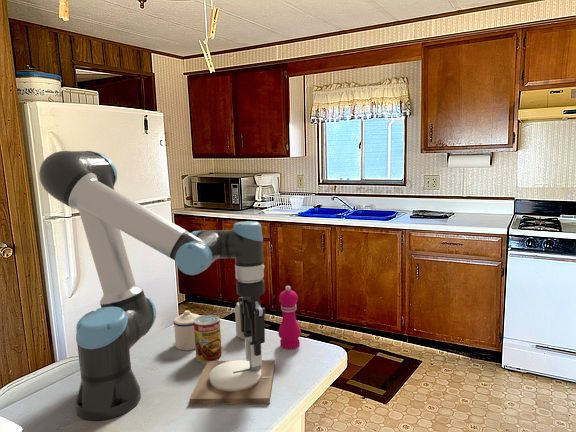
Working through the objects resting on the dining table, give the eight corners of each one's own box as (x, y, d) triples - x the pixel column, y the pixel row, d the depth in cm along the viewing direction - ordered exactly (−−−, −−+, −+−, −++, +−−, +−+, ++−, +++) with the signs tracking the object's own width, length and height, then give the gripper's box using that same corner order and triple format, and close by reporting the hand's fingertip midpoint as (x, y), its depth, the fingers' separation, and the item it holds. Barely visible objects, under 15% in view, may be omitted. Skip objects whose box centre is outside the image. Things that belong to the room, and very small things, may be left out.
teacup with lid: (204, 348, 138) (202, 314, 137) (175, 352, 136) (172, 317, 134) (201, 334, 150) (199, 302, 148) (174, 337, 147) (172, 305, 146)
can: (249, 342, 142) (247, 307, 140) (231, 337, 146) (230, 304, 144) (262, 334, 148) (261, 300, 146) (245, 330, 152) (243, 297, 150)
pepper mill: (299, 351, 134) (297, 289, 131) (276, 349, 135) (274, 289, 133) (302, 341, 141) (301, 282, 138) (281, 340, 142) (279, 282, 140)
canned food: (204, 365, 127) (201, 326, 125) (191, 356, 133) (188, 319, 131) (226, 356, 132) (224, 319, 130) (213, 348, 138) (211, 313, 136)
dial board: (190, 404, 107) (189, 398, 106) (207, 365, 126) (207, 360, 126) (269, 403, 106) (269, 397, 106) (275, 364, 126) (274, 359, 125)
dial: (213, 395, 107) (210, 360, 106) (206, 370, 120) (204, 338, 119) (266, 385, 111) (265, 351, 110) (255, 361, 124) (253, 330, 123)
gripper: (276, 284, 109) (279, 371, 111) (251, 271, 123) (254, 348, 126) (248, 289, 105) (252, 378, 108) (226, 274, 120) (230, 354, 123)
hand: (253, 362), depth 117 cm, fingers open, 3 cm apart
